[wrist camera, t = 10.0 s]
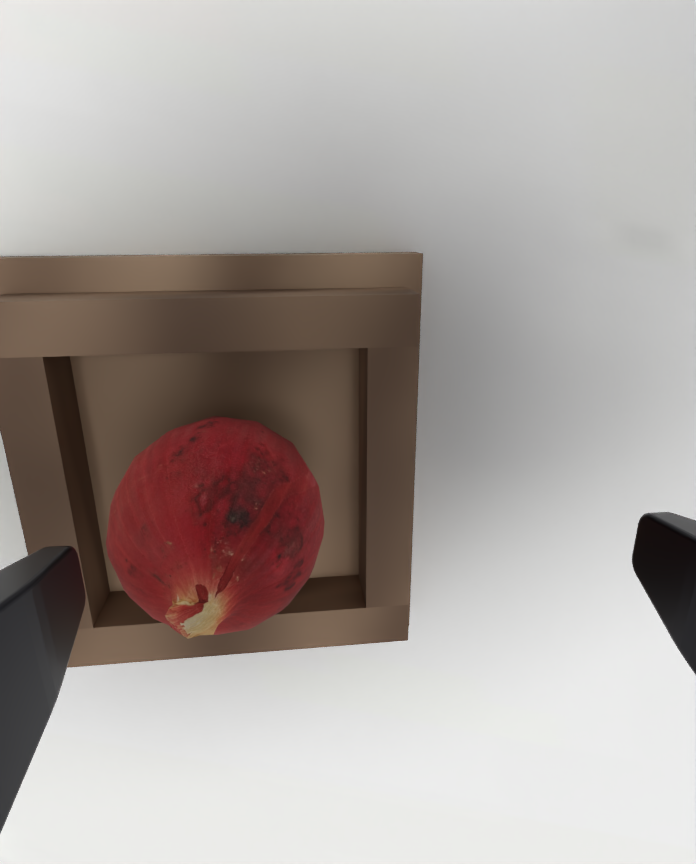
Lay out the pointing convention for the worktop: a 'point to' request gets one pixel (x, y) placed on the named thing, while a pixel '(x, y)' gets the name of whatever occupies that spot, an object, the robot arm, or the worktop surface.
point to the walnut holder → (218, 396)
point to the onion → (215, 526)
